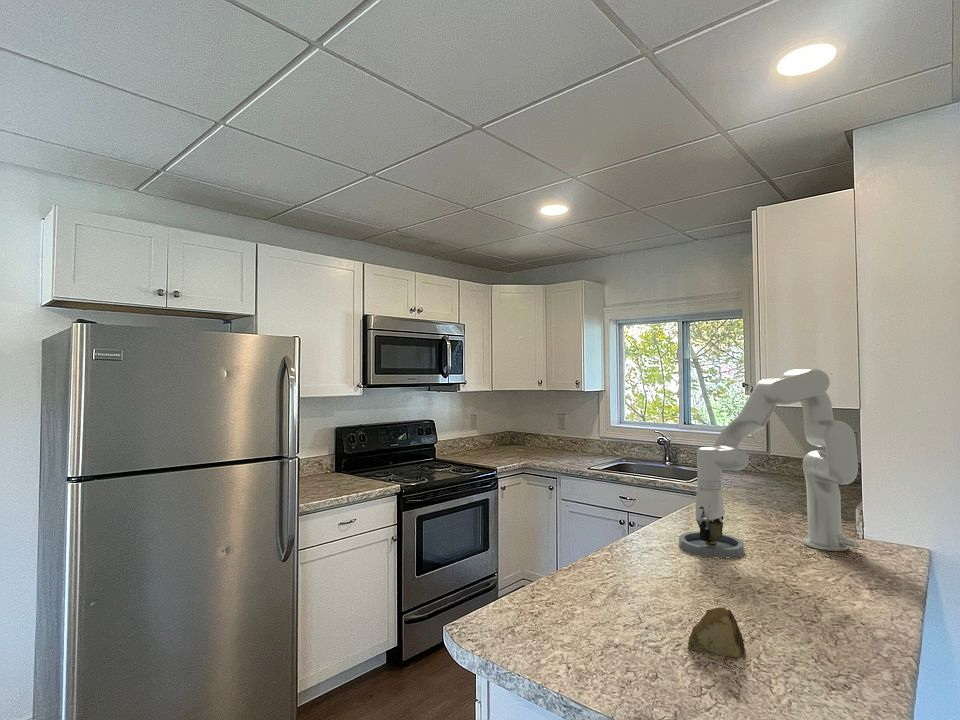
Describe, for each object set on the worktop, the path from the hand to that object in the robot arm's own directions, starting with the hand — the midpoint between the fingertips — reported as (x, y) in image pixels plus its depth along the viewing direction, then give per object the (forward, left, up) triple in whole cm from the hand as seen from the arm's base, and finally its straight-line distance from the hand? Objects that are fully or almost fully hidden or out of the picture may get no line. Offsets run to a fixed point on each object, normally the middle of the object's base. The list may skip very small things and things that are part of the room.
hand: (711, 538), depth 174 cm
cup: (0, 0, -2) cm, 2 cm away
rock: (-36, +61, -4) cm, 71 cm away
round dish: (0, 0, -3) cm, 3 cm away
